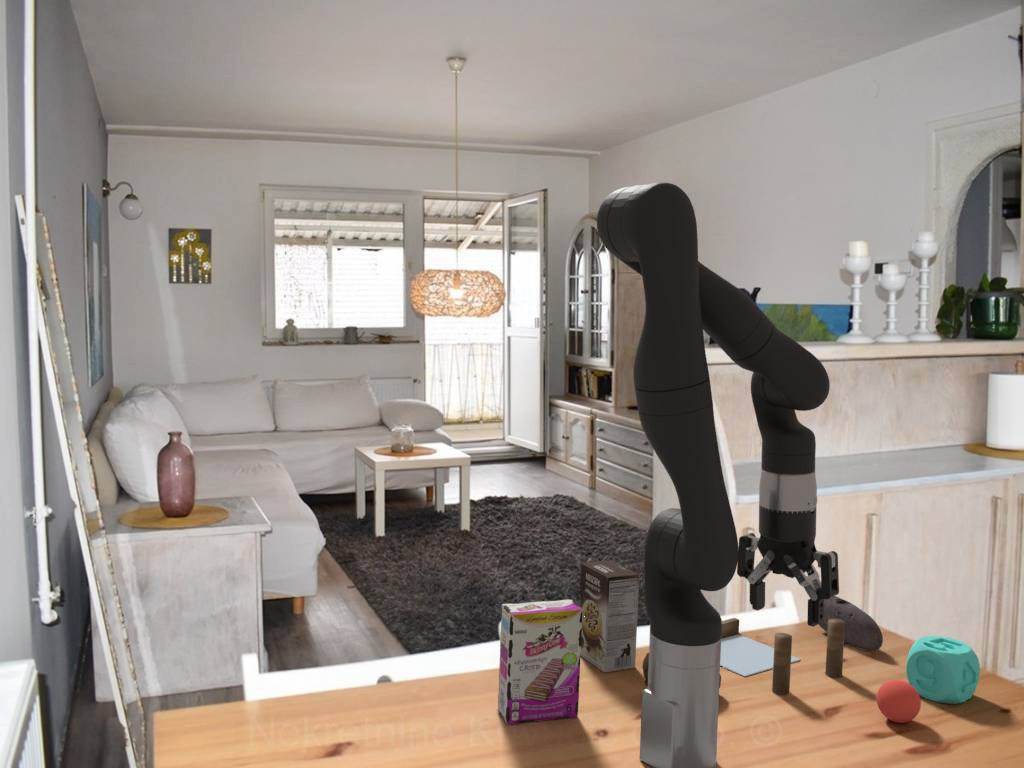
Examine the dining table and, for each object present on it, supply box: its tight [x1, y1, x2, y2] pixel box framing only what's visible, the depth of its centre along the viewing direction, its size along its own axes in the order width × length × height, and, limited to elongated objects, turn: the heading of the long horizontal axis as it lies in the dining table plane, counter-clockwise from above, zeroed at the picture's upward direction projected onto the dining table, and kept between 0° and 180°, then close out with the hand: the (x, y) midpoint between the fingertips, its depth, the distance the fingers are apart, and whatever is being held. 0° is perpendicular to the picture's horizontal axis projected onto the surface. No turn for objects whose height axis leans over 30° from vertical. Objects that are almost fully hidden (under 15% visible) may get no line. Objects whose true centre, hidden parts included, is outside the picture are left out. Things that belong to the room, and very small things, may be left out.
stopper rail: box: [721, 617, 740, 638], centre depth 169 cm, size 16×1×2 cm, turn 124°
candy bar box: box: [497, 599, 583, 725], centre depth 136 cm, size 11×5×16 cm, turn 108°
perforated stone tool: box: [818, 595, 884, 652], centre depth 169 cm, size 15×5×7 cm, turn 19°
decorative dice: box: [905, 635, 981, 704], centre depth 147 cm, size 8×8×8 cm
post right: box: [824, 619, 845, 679], centre depth 154 cm, size 3×3×9 cm
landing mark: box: [720, 633, 802, 678], centre depth 162 cm, size 14×14×1 cm
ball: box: [876, 678, 922, 724], centre depth 137 cm, size 6×6×6 cm
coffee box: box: [579, 559, 640, 673], centre depth 157 cm, size 9×6×16 cm
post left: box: [771, 632, 793, 696], centre depth 146 cm, size 3×3×9 cm
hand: (785, 616), depth 129 cm, fingers open, 8 cm apart
